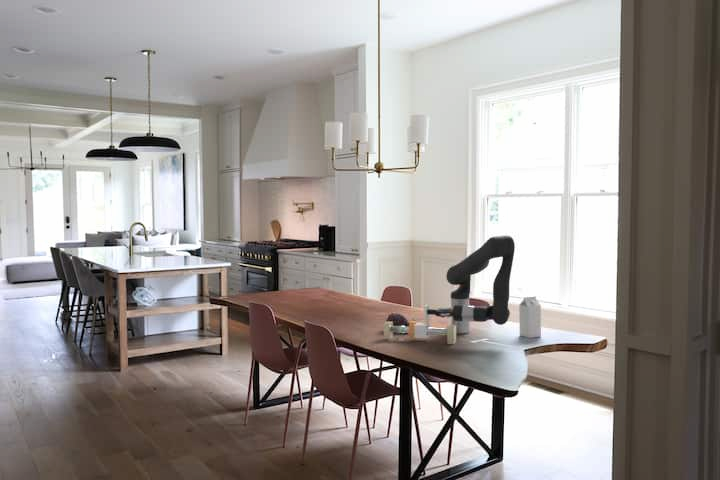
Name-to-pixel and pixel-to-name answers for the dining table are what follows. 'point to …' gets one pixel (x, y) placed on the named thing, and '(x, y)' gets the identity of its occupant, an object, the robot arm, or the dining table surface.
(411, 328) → the ring
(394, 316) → the pine cone
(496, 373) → the dining table surface
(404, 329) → the pipe rail
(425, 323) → the sleeve
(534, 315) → the milk carton
